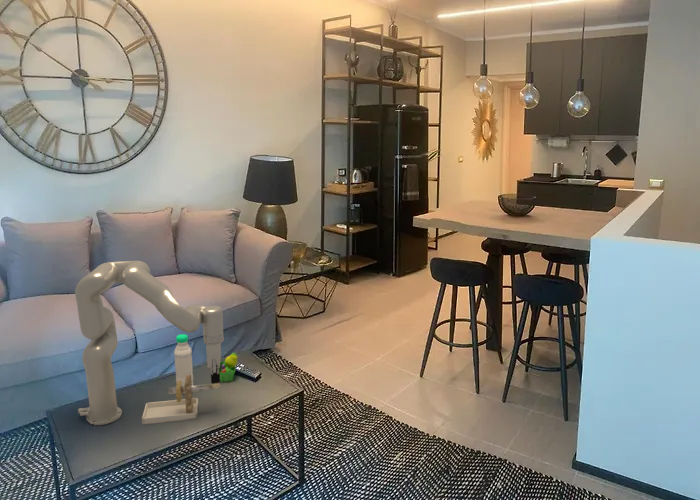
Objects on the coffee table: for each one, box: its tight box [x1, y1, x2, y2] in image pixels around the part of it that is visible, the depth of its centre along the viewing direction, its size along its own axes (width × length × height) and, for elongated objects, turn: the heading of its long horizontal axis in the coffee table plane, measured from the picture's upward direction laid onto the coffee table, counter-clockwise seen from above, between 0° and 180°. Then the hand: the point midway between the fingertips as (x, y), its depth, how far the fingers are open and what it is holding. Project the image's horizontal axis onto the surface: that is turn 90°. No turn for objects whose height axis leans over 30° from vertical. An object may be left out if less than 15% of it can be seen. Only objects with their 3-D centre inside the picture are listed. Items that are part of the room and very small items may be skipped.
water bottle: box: [173, 333, 194, 395], centre depth 226 cm, size 7×7×25 cm
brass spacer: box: [175, 381, 183, 402], centre depth 209 cm, size 2×6×6 cm, turn 13°
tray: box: [141, 397, 199, 426], centre depth 210 cm, size 20×12×2 cm, turn 103°
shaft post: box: [184, 375, 194, 414], centre depth 211 cm, size 2×8×14 cm, turn 13°
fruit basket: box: [219, 352, 239, 383], centre depth 240 cm, size 11×9×11 cm
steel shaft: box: [167, 368, 221, 395], centre depth 210 cm, size 20×3×9 cm, turn 103°
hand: (215, 380), depth 211 cm, fingers closed on steel shaft, 3 cm apart
